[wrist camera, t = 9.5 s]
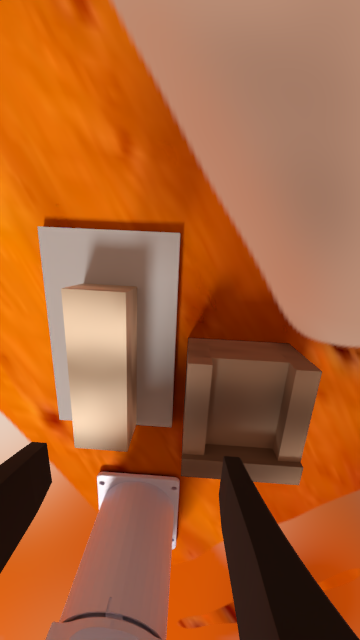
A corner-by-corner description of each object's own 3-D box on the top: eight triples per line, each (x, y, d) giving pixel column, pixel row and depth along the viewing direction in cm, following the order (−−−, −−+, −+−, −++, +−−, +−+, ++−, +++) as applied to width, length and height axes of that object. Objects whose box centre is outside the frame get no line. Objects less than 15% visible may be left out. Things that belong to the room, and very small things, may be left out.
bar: (136, 423, 20) (127, 451, 17) (91, 419, 20) (74, 447, 17) (137, 286, 16) (125, 292, 14) (83, 283, 17) (61, 288, 14)
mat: (172, 422, 20) (171, 427, 20) (63, 415, 20) (59, 419, 20) (180, 233, 16) (180, 232, 15) (42, 227, 16) (37, 226, 16)
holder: (272, 430, 20) (299, 485, 15) (183, 424, 20) (181, 476, 15) (288, 343, 18) (325, 375, 13) (188, 337, 18) (187, 366, 13)
